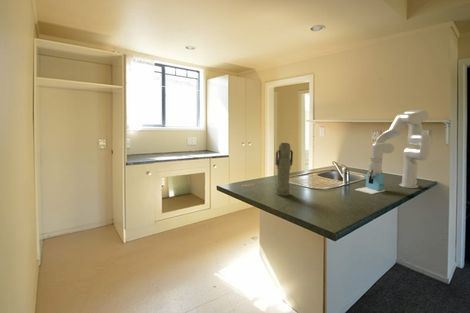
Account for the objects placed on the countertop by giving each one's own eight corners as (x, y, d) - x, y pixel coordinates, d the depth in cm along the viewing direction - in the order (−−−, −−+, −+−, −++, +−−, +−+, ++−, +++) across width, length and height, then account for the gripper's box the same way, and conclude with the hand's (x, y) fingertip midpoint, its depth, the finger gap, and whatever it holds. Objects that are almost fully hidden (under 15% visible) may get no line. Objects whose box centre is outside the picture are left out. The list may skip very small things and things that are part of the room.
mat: (368, 187, 209) (368, 186, 209) (385, 191, 198) (385, 190, 198) (354, 190, 199) (354, 189, 199) (371, 194, 188) (371, 193, 188)
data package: (383, 190, 196) (384, 174, 195) (378, 191, 195) (380, 174, 193) (369, 186, 208) (371, 171, 206) (365, 187, 206) (366, 171, 204)
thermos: (271, 193, 186) (273, 142, 182) (286, 191, 190) (288, 142, 186) (278, 196, 178) (280, 143, 173) (293, 195, 182) (296, 143, 178)
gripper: (377, 158, 206) (375, 180, 208) (364, 160, 197) (363, 183, 199) (387, 160, 200) (385, 182, 202) (375, 161, 191) (372, 185, 193)
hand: (374, 182), depth 201 cm, fingers open, 9 cm apart
